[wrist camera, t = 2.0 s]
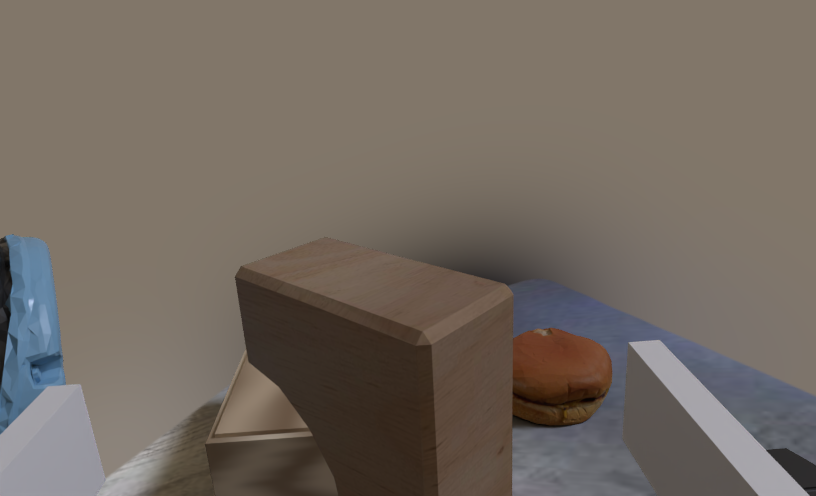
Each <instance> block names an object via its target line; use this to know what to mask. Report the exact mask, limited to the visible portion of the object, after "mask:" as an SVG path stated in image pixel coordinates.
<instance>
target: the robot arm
mask: <svg viewBox="0 0 816 496" xmlns="http://www.w3.org/2000/svg"><path fill="white" fill-rule="evenodd" d="M622 439H623V441H624V442H625V444H626V446H627V447H628V449H629V450H630V452H631V454H632V455H633V457H634V458H635V460H636V462H637V463H638V465H639V466H640V468H641V470H642V471H643V473H644V474H645V476H646V478H647V479H648V481H649V482H650V484H651V486H652V487H653V489H654V490H655V492H656V494H657V495H658V496H816V465H814V464H813V463H811V462H809V461H807V460H806V459H804V458H802V457H801V456H799V455H797V454H795V453H794V452H792V451H790V450H788V449H787V448H784V449H772V450H765V449H764V448H763V447H762V446H761V445H760V444H759V443H758V442H757V441H756V440H755V439H754V437H753V436H752V435H751V434H750V433H749V432H748V431H747V430H746V429H745V428H744V427H743V426H742V425H741V424H740V423H739V422H738V421H737V420H736V419H735V418H734V417H733V416H732V415H731V414H730V413H729V412H728V411H727V409H726V408H725V407H724V406H723V405H722V404H721V403H720V402H719V401H718V400H717V399H716V398H715V397H714V396H713V395H712V394H711V393H710V392H709V391H708V390H707V389H706V388H705V387H704V386H703V385H702V384H701V383H700V382H699V380H698V379H697V378H696V377H695V376H694V375H693V374H692V373H691V372H690V371H689V370H688V369H687V368H686V367H685V366H684V365H683V364H682V363H681V362H680V361H679V360H678V359H677V358H676V357H675V356H674V355H673V354H672V352H671V351H670V350H669V349H668V348H667V347H666V346H665V345H664V344H663V343H662V342H661V341H660V340H654V341H641V342H628V356H627V373H626V389H625V405H624V421H623V437H622ZM104 482H105V476H104V472H103V468H102V464H101V461H100V457H99V453H98V449H97V445H96V442H95V438H94V434H93V430H92V426H91V422H90V419H89V415H88V411H87V407H86V403H85V400H84V396H83V392H82V388H81V385H80V384H73V385H66V382H65V375H64V370H63V355H62V349H61V340H60V327H59V319H58V310H57V302H56V294H55V286H54V279H53V272H52V265H51V258H50V252H49V248H48V246H47V244H46V243H45V242H44V241H42V240H41V239H39V238H33V237H19V236H13V234H12V235H8V236H5V237H4V238H1V239H0V496H96V495H97V493H98V492H99V490H100V488H101V487H102V485H103V484H104Z"/></svg>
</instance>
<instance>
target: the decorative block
mask: <svg viewBox="0 0 816 496" xmlns="http://www.w3.org/2000/svg"><path fill="white" fill-rule="evenodd" d="M235 280H236V286H237V293H238V298H239V305H240V311H241V318H242V324H243V331H244V337H245V344H246V350H247V356H248V362H249V363H250V364H251V365H253V366H254V367H255V368H256V369H257V370H259V371H260V372H261V373H262V374H264V375H265V376H266V377H267V378H268V379H270V380H271V381H272V382H273V383H275V384H276V385H277V386H278V387H279V388H280V389H281V391H282V392H283V393H284V395H285V396H286V397H287V399H288V400H289V402H290V403H291V404H292V406H293V407H294V408H295V410H296V411H297V413H298V414H299V415H300V417H301V418H302V420H303V421H304V422H305V424H306V425H307V426H308V428H309V430H310V432H311V433H312V435H313V437H314V439H315V441H316V443H317V445H318V447H319V449H320V451H321V453H322V455H323V457H324V459H325V461H326V463H327V465H328V467H329V469H330V471H331V473H332V475H333V476H334V479H335V484H336V488H337V492H338V496H512V387H513V294H512V292H511V290H510V289H509V288H508V287H507V285H505V284H503V283H499V282H495V281H492V280H488V279H483V278H480V277H476V276H472V275H468V274H464V273H461V272H457V271H453V270H449V269H445V268H442V267H438V266H434V265H430V264H426V263H422V262H418V261H414V260H411V259H406V258H403V257H399V256H395V255H391V254H387V253H384V252H380V251H377V250H373V249H369V248H365V247H361V246H358V245H354V244H350V243H346V242H342V241H339V240H335V239H331V238H328V237H324V238H321V239H318V240H315V241H312V242H310V243H307V244H304V245H301V246H298V247H295V248H293V249H290V250H287V251H284V252H281V253H279V254H275V255H272V256H270V257H266V258H264V259H261V260H258V261H255V262H252V263H249V264H246V265H243V266H241V267H240V269H239V271H238V272H237V274H236V276H235Z"/></svg>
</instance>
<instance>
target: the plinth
mask: <svg viewBox="0 0 816 496" xmlns="http://www.w3.org/2000/svg"><path fill="white" fill-rule="evenodd" d="M205 446H206V451H207V456H208V461H209V466H210V472H211V477H212V482H213V487H214V492H215V496H338V492H337V488H336V484H335V479H334V476H333V475H332V473H331V471H330V469H329V467H328V465H327V463H326V461H325V459H324V457H323V455H322V453H321V451H320V449H319V447H318V445H317V443H316V441H315V439H314V437H313V435H312V433H311V432H310V430H309V428H308V426H307V425H306V424H305V422H304V421H303V420H302V418H301V417H300V415H299V414H298V413H297V411H296V410H295V408H294V407H293V406H292V404H291V403H290V402H289V400H288V399H287V397H286V396H285V395H284V393H283V392H282V391H281V389H280V388H279V387H278V386H277V385H276V384H275V383H273V382H272V381H271V380H270V379H268V378H267V377H266V376H265V375H264V374H262V373H261V372H260V371H259V370H257V369H256V368H255V367H254V366H253V365H251V364H250V363H249V362H248V356H247V350H246V349H245V352H244V354H243V356H242V359H241V361H240V363H239V366H238V368H237V370H236V373H235V375H234V377H233V380H232V382H231V384H230V387H229V389H228V391H227V394H226V396H225V398H224V401H223V403H222V406H221V408H220V410H219V413H218V415H217V417H216V420H215V422H214V424H213V427H212V429H211V431H210V434H209V436H208V438H207V441H206V443H205Z"/></svg>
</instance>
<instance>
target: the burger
mask: <svg viewBox="0 0 816 496" xmlns="http://www.w3.org/2000/svg"><path fill="white" fill-rule="evenodd" d="M611 383H612V364H611V359H610V356H609V354H608V353H607V351H606V350H605V349H604V348H603V346H601V345H600V344H598V343H596V342H595V341H593V340H591V339H588V338H584V337H581V336H576V335H573V334H570V333H567V332H565V331H562V330H559V329H555V328H549V329H544V330H542V329H536V330H533V331H527V332H525V333H523V334H521V335H519V336H517V337H515V338H513V387H512V414H513V415H515V416H518V417H519V418H522V419H525V420H529V421H530V422H534V423H537V424H546V425H572V424H579V423H583V422H584V421H586V420H587V419H589V418H590V417H591V416H592V415H593V414H594V413H595V412H596V411H597V409H598V408H599V407H600V406H601V404H602V402H603V401H604V399H605V397H606V395H607V393H608V390H609V388H610V386H611Z"/></svg>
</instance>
